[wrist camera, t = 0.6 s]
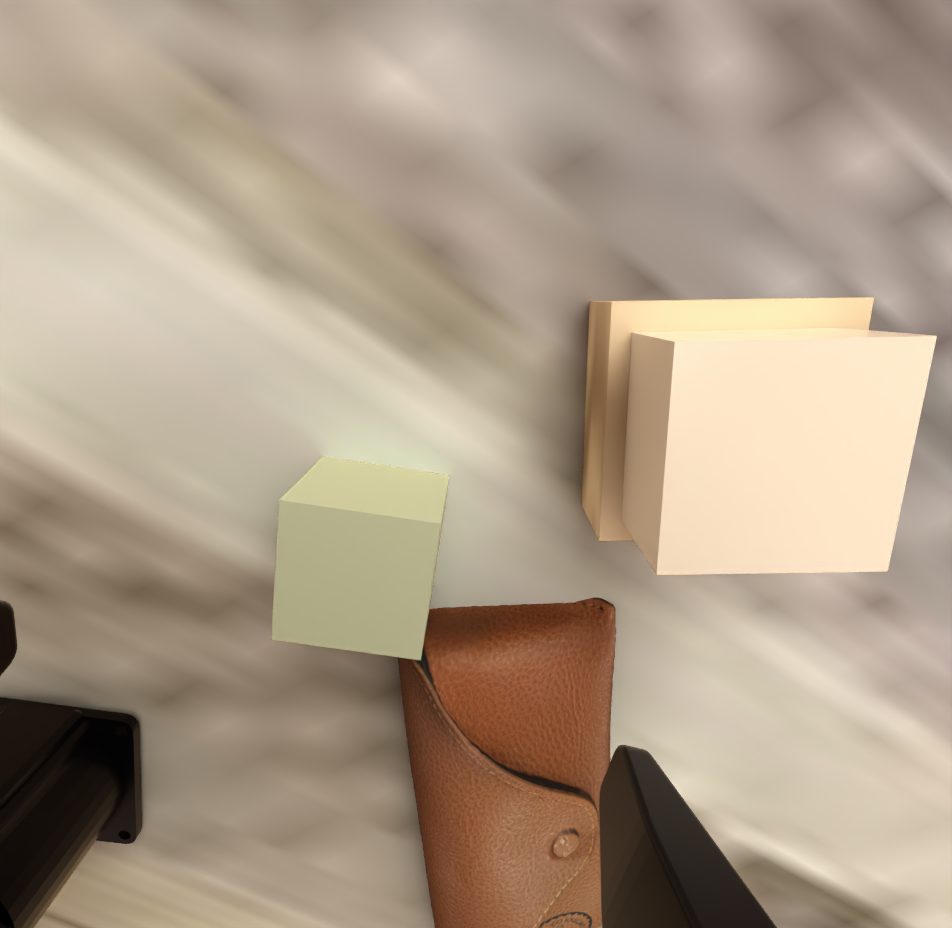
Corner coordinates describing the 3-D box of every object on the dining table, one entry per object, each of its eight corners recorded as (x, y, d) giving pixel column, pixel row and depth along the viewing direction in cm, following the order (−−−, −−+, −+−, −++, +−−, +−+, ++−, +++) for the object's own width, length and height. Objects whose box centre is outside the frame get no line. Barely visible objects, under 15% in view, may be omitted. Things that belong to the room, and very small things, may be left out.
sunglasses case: (628, 930, 26) (575, 1104, 21) (496, 863, 30) (422, 996, 24) (618, 586, 21) (544, 699, 15) (461, 557, 24) (357, 640, 19)
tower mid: (805, 516, 17) (887, 571, 13) (621, 519, 17) (656, 575, 13) (835, 327, 15) (936, 336, 12) (632, 332, 15) (674, 342, 12)
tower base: (772, 498, 20) (830, 538, 17) (579, 501, 20) (599, 541, 17) (801, 297, 18) (874, 297, 15) (587, 301, 18) (611, 302, 15)
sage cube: (433, 586, 21) (420, 660, 17) (314, 569, 21) (271, 639, 17) (449, 474, 20) (440, 523, 15) (323, 455, 20) (279, 499, 15)
